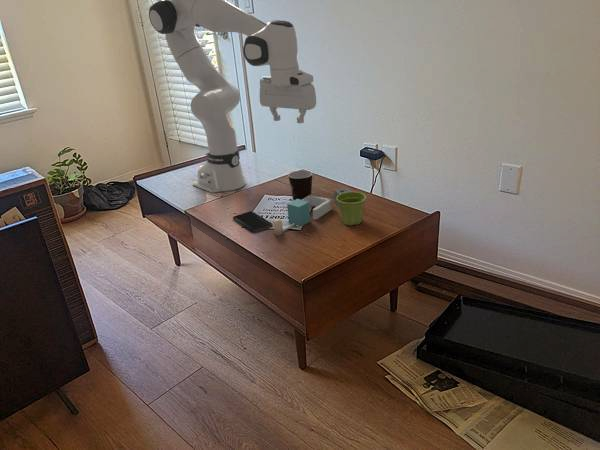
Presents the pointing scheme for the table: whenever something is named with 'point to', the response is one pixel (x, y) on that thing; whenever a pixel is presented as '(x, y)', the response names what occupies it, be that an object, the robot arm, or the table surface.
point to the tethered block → (294, 216)
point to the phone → (252, 222)
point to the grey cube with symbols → (340, 191)
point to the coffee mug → (300, 184)
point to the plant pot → (351, 207)
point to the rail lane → (319, 205)
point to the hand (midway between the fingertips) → (288, 121)
